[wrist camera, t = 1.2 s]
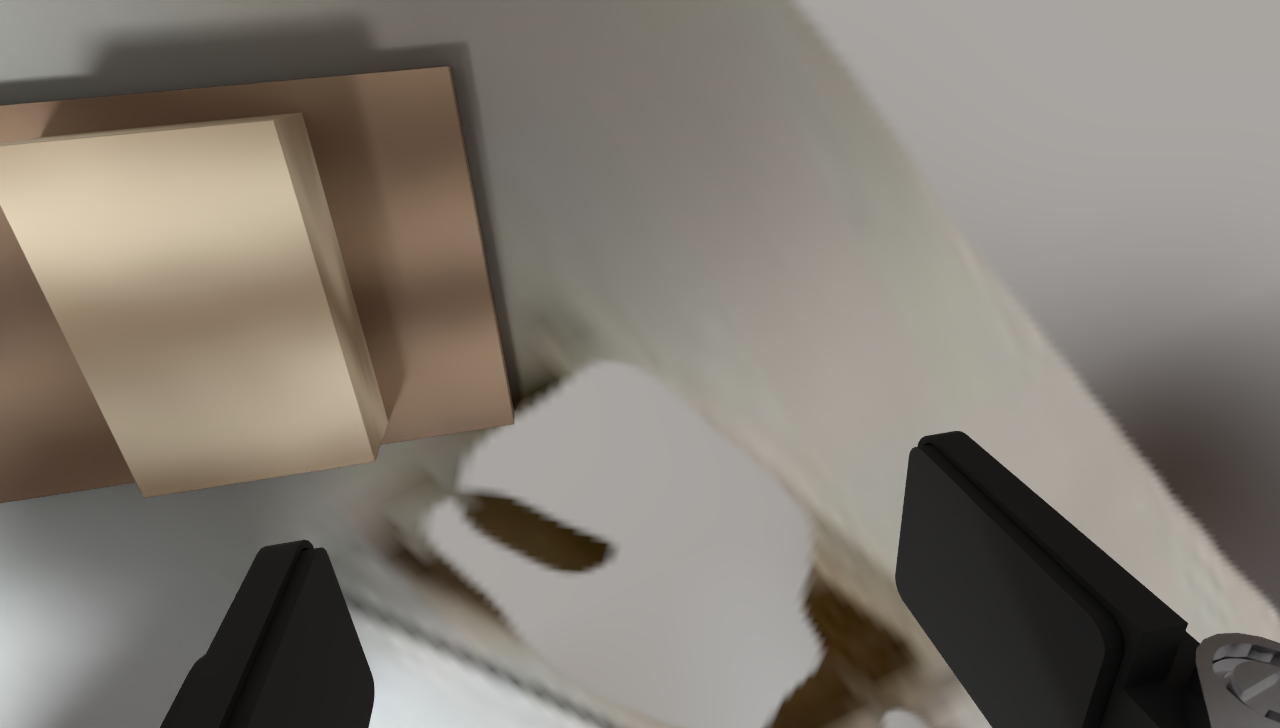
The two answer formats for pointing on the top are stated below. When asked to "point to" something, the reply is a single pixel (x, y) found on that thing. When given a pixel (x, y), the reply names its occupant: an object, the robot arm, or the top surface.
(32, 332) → the board
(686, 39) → the top surface
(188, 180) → the cream rectangular slab
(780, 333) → the top surface
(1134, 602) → the robot arm
